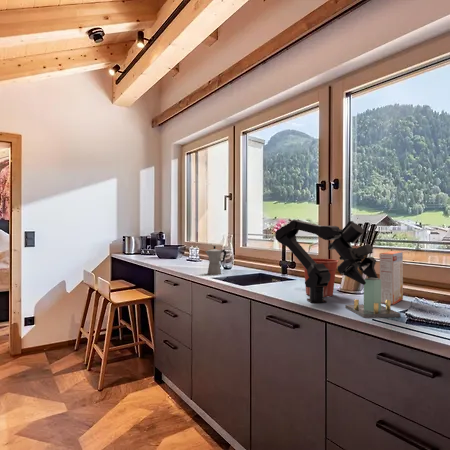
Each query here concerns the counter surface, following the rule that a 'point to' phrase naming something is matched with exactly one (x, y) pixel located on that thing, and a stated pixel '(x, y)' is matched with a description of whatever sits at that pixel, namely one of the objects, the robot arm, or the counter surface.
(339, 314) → the counter surface
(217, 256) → the coffeepot
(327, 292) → the flower pot
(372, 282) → the block
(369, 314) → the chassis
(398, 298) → the cracker box
